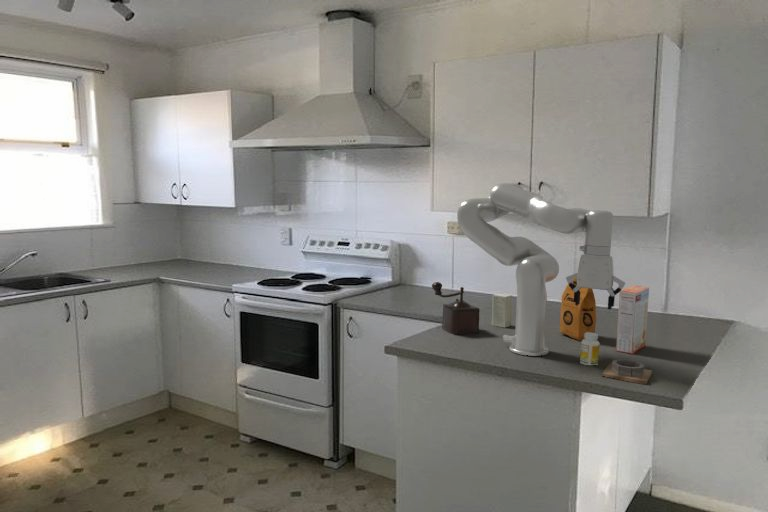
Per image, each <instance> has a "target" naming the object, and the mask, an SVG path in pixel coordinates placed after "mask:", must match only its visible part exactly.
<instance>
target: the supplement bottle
mask: <svg viewBox="0 0 768 512" xmlns="http://www.w3.org/2000/svg"><path fill="white" fill-rule="evenodd" d="M584 338H585V339H583V340H582V341H580V342H581V343H580V344H581V345H580V355H579V357H580V358H579V363H580V364H581V363H582V364H585V365H584V366H586V365H597V366H598V365H599V355H600V345H601V343H600V341H599V340H598V339H599V333H596V332H595V333H591V332H586V333H585V334H584ZM582 364H581V365H582Z"/></svg>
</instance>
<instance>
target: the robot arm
mask: <svg viewBox="0 0 768 512" xmlns="http://www.w3.org/2000/svg"><path fill="white" fill-rule="evenodd" d="M510 213H512V214H513V215H514V214H515V215H516V216H517V215H518V216H520V217H522V218H525V219H528V220H530V221H532V222H534V223H535V224H537V225H539V226H541V227H543V228H546V229H550V230H552V231H555V232H557V233H561V234H566V235H567V234H568V235H569V234H576V233H578V234H579V233H585V235H584V236H585V238H584V245H582V246H581V245H580V246H579V251H582V252H583V254H581V255H580V258H579V263H578V267H577V268H578V269H577V272H576V273H573V274H571V275H568V276H566V278H565V279H566V281H567V285H568V284H569V286H570V287H571V289H572V290H573V292H574V302H575V305H578V304H580V291H579V289H581V288H590V289H592V290H599V291H607V293H608V294H609V296H607V297H608V298H607V309H608V310H611V309H612V308H613V307H614V306H615V299H616V297H615V296H616V295H617V294H620V291H621V290H623V289H624V287H625V285H626V281H624V280H621V279H620V278H619V277H617V276H615V274H614V260H613V256H611V250H612V249H611V248H612V235H613V224H614V223H613V221H614V220H613V219H614V215H613V213H612V212H611V211H608V210H597V209H596V210H595V209H593V210H590V209H584V208H578V207H577V208H566V207H563V206H559V205H557V204H553V203H551V202H548V201H547V200H544V198H543V197H542V195H541V194H539V193H537V192H533V191H531V190H527V189H524V187H523V186H521V184H518V183H511V182H510V183H508V182H507V183H506V182H504V183H502V182H501V183H498V184H496V185H494V187H492V189H491V191H490V194H489V196H487V197H486V198H485V197H481V198H480V197H479V198H477V197H475V198H474V197H473V198H468V199H466V200H464V201H462V202H461V204H459V206H458V209H457V213H456V215H457V217H456V218H457V219H456V220H457V223H458V227H459V228H460V230H461V232H462V233H463V235H465V237H467V238H468V239H469V241H471V242H473V243H474V244H476V245H477V246H478V247H480V248H481V249H482V250H483V251H484V252H486V253H487V254H488V255H489V256H491V257H492V258H494V259H495V260H496V261H498V262H499V263H500V264H502V265H504V266H506V267H507V266H509V267H512V266H516V270H515V279H516V311H515V326H514V328H515V330H514V331H515V332H514V335H509V334H503V336H502V341H504V342H506V343H510V345H509V350H510V352H512V353H514V354H518V355H521V356H527V355H528V356H531V357H541V355H542V356H546V355H548V353H549V348H548V347H547V346H545V335H546V320H547V319H546V318H547V317H546V316H547V299H548V298H547V297H548V296H547V289H546V283H549V282H551V281H554V280H555V279H556V278H557V277H558V275H559V273H560V265H559V262H558V261H557V258H555V257H554V256H553V255H552V254H551V253H550V252H548V251H546V250H545V249H544V248H542V247H540V246H539V245H538V244H537V243H535V242H533V241H532V240H531V239H528V238H526V237H523V236H509V235H507V234H505V233H504V232H502V231H501V230H500V229H499V228H497V227H495V226H494V225H492V224H491V223H489V222H493V221H495V220H498V219H500V218H502V217H503V216H505V215H507V214H510ZM576 277H577V286H576V285H575V284H574V283H573V281H572V279H574V278H576ZM614 282H615V283H616V284H618V286H617V288H615V289H614V288H613V286H614Z"/></svg>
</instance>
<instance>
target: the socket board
mask: <svg viewBox="0 0 768 512" xmlns="http://www.w3.org/2000/svg"><path fill="white" fill-rule="evenodd" d="M652 373H653V370H651V369H646V368H645V364H644V363H642V362H640V361H637V360H631V359H625V358H622V359H621V358H620V359H613V360H612V361H611V363H609V364H608V365H607V367H605V369H604V370H603V372H602V373H601V377H602V376H607V377H611V378H615V379H614V380H617V379H619V380H618V381H623V380H624V382H628V381H629V383H635V384H641V385H645V386H646V385H647V384H648V382H649V380H650V378H651V376H652ZM611 378H610V379H611Z"/></svg>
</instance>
